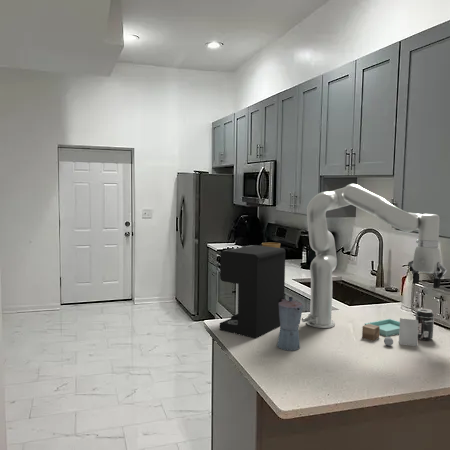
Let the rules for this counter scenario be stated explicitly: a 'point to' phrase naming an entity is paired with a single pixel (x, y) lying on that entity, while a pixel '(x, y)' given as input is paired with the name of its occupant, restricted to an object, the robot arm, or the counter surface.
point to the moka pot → (289, 324)
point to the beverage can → (425, 323)
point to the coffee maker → (254, 288)
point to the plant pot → (271, 244)
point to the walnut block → (370, 332)
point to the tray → (387, 327)
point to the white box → (408, 332)
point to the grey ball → (388, 341)
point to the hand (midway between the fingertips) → (426, 285)
